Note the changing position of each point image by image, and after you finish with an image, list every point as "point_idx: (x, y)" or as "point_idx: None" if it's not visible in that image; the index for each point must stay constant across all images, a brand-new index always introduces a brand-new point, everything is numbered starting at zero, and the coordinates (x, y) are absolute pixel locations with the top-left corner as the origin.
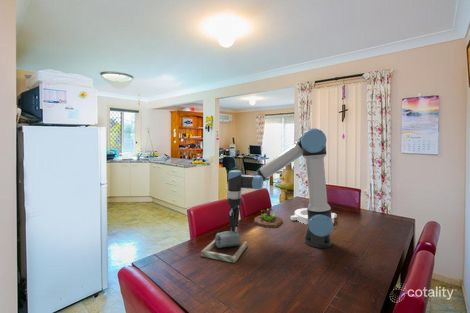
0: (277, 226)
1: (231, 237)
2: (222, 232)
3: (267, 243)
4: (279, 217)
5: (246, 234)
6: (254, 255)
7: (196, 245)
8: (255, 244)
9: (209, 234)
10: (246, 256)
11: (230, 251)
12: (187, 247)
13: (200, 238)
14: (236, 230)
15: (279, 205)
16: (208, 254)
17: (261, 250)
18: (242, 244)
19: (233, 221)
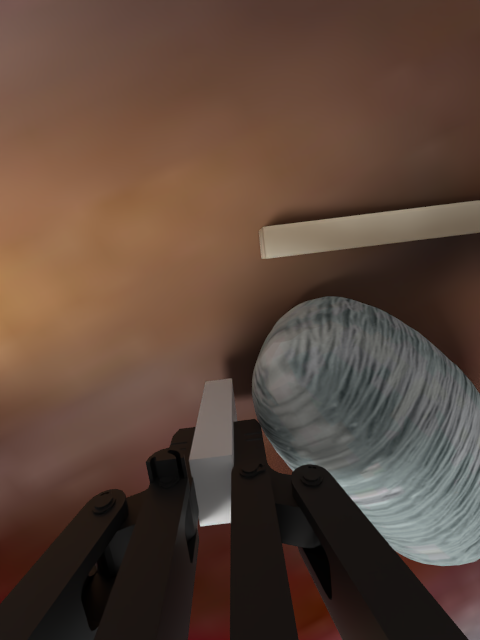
0: None
1: (460, 373)
2: (455, 529)
3: (81, 51)
4: None
5: (8, 357)
6: (412, 78)
7: (423, 579)
8: (177, 171)
9: (202, 609)
10: (459, 145)
11: (420, 320)
12: (474, 607)
13: (303, 620)
14: (205, 426)
15: None
16: None
17: (278, 51)
18: (351, 245)
19: (437, 612)
